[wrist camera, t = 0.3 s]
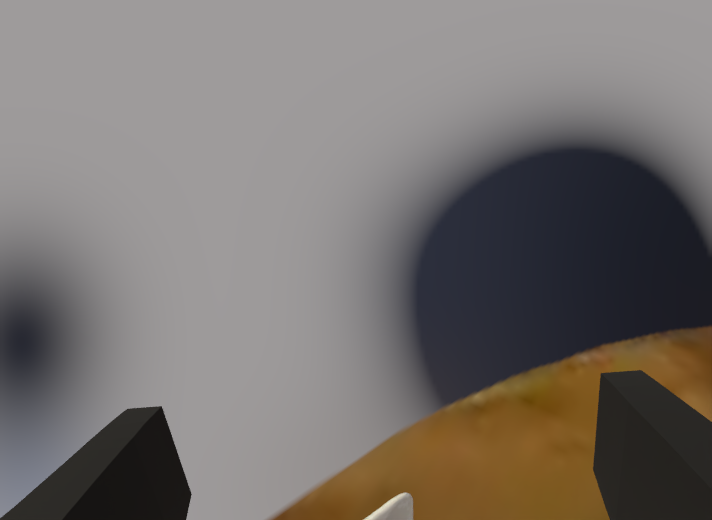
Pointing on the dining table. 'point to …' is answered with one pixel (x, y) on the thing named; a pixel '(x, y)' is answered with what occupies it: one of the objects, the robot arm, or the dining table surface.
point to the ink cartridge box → (395, 509)
